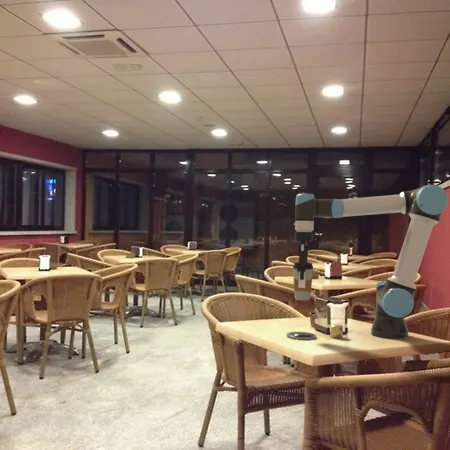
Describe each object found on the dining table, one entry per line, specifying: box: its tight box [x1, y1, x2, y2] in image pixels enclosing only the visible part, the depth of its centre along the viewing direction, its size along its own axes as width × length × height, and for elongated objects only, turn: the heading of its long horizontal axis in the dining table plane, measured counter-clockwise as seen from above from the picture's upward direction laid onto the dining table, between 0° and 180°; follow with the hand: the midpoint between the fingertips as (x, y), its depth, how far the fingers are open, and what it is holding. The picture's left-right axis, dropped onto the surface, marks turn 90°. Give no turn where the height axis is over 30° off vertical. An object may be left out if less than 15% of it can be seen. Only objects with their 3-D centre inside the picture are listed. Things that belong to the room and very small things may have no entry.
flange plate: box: [286, 331, 317, 341], centre depth 218 cm, size 12×12×1 cm
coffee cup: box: [292, 261, 314, 301], centre depth 217 cm, size 8×8×15 cm
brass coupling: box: [329, 324, 344, 340], centre depth 218 cm, size 5×5×5 cm
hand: (302, 286), depth 217 cm, fingers closed on coffee cup, 8 cm apart
